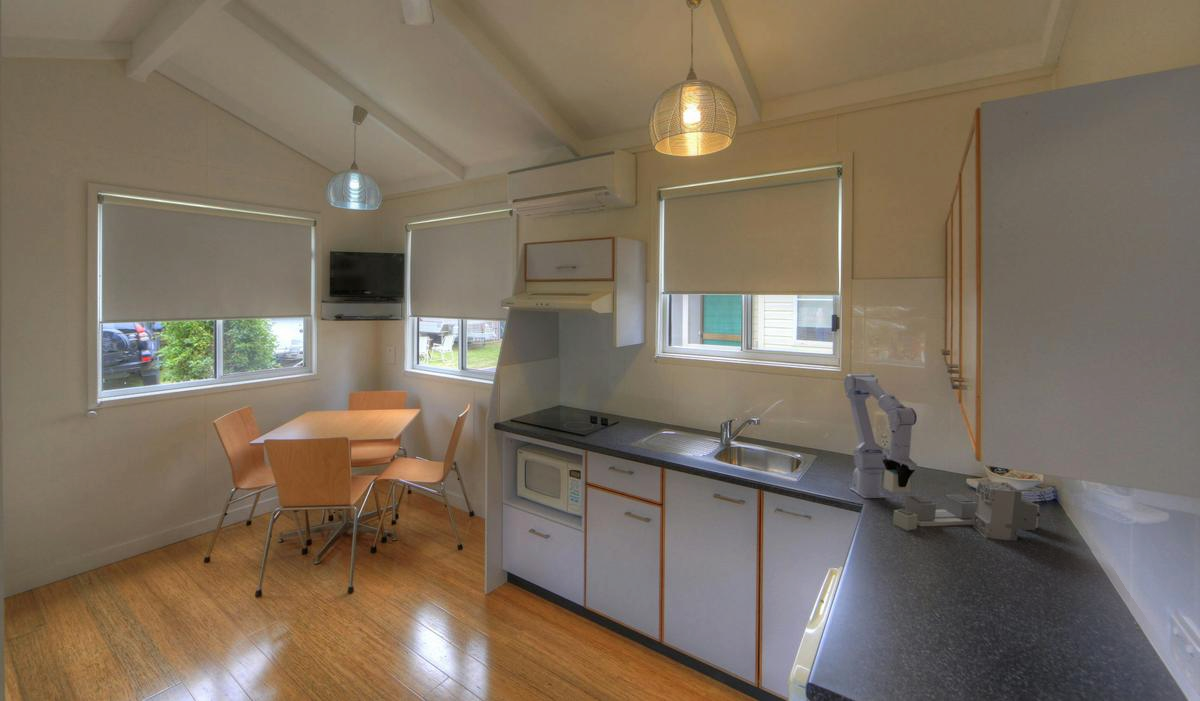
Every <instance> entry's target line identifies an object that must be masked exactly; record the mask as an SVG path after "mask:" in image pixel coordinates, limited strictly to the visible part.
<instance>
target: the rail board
mask: <svg viewBox="0 0 1200 701" xmlns="http://www.w3.org/2000/svg"><path fill="white" fill-rule="evenodd" d="M944 498H945V499H944V500H945V502H944V509H937V503H935V502H933V501H930V500H929V499H927V498H925V497H923V496H922V495H907V496H905V504H904V506H905V508H904V509H905V510H907V511H910V512H912V513H914V514H916V515H918V516H917V526H919V527H936V526H937V527H938V526H939V527H940V526H941V527H942V526H965V525H969V526H970V525H974V513H977V511H978V503H977V502H976V501H974V500H971V499H970V498H968V497H966V496H963V495H961V494H945V497H944ZM976 521H978V519H976Z"/></svg>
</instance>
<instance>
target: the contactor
mask: <svg viewBox="0 0 1200 701" xmlns="http://www.w3.org/2000/svg"><path fill="white" fill-rule="evenodd" d="M917 516H918V515H916V514H914V513H912V512H910V511H907V510H905V508H900V509H894V510H893V517H892V525H894V526H896V527H899V528H900V529H903V530H905V531H911V530H916V529H918V528H917V526H918V524H917Z"/></svg>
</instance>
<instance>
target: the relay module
mask: <svg viewBox="0 0 1200 701" xmlns="http://www.w3.org/2000/svg"><path fill="white" fill-rule="evenodd" d="M883 474H884V476H883V477H884V478H883V488H884V489H885V490H887V491H889V492H891V493H910V489H911V477H912V475H911V476H910V478H909V480H908V482H907V485H906V487H899V485H898V473H897V470H886V469H884V473H883Z"/></svg>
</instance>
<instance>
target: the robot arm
mask: <svg viewBox="0 0 1200 701" xmlns="http://www.w3.org/2000/svg"><path fill="white" fill-rule="evenodd" d="M843 387H844V391H845V395H846V398H847V399H848V401H849V405H850V406H849V407H850V410H851V414H852V419H853V423H854V427H855V430H856V436H857V440H858V445H857V446H856V447H855V448H854V449H853V455H854V456H853V463H854V465H855V469H854V470H853V472H852V487H849V489H850V490H851V491H852V492H854V493H856V494H857V495H859V496H860V497H862V498H864V499H886V495H884V494H882V493H881V486H882V484H881V483H882V473H885V470H897V473H898V485H899V487H906V485H907V482H908V480H909V478H910V479H911V477H912V475H913V473H914V472H916V470H918V469H917V468H918V464H917V462H914V461H913V460H912V459H911V458H910V456H911V455H910V454H911V453H910V452H911V441H912V428H913V427H912V426H914V425H915V424H916V423H917V418H918V417H917V413H916V411H915V409H914V408H913V407H907V406H904V404H903V403H902V402H901V401H900V400H898V398H896V395H895V394H890V393H889V394H887V393H886V391H885V390H884V389H883V388H882V387H881V385H880V384H879V379H878V377H877V376H876V375H875V374H874V373H868V374H867V373H866V374H860V373H859V374H852V373H849V374H847V375H846V376H845V378H844V382H843ZM871 396H872V397H873V398H875V399H876V400H877V401H878V403H877V405H878V407H879V408H881V410H882V411H883V412H884V413H885V414H886V415H887V419H888V422H889V429H890V442H889V443H890V444H889V450H884V448H883V447H882V446H881V445H879V443H877V442H876V440H875V437H874V432H873V429H872V424H871V420H870V416H869V411H868V408H867V404H866V401H867V399H870V398H871ZM910 476H911V477H910Z"/></svg>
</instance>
